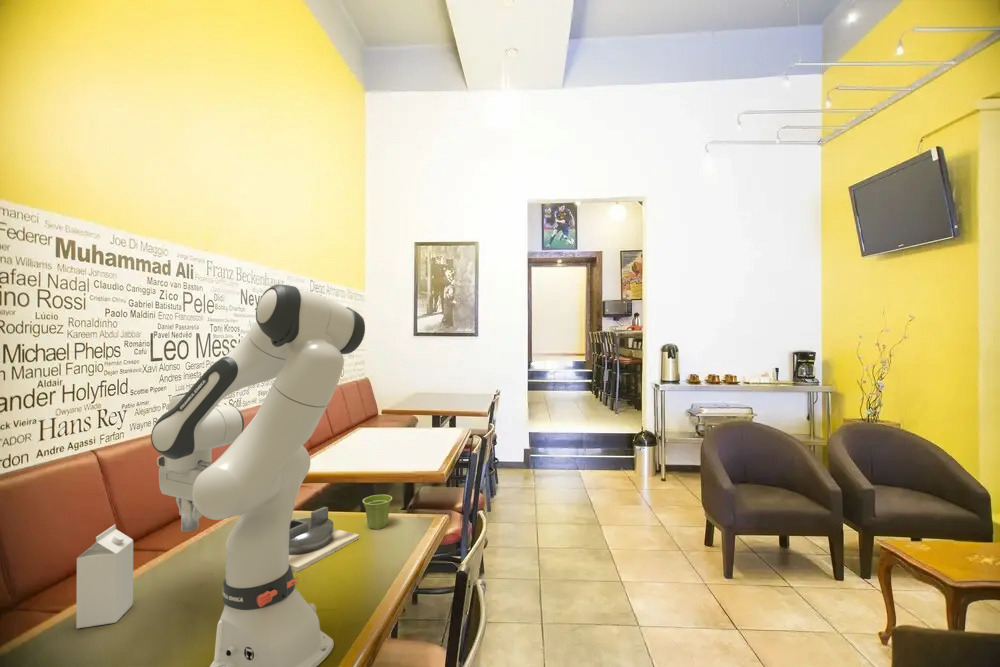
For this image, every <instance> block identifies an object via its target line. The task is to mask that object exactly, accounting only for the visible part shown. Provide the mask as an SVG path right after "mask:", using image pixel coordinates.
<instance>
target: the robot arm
mask: <svg viewBox="0 0 1000 667" xmlns="http://www.w3.org/2000/svg"><path fill="white" fill-rule="evenodd" d="M255 320H256V321H255V322H254V323H253V325H252V326H251V328H250V329H249V331H248V332H247V333H246V334H245V336H244V337H243V339H241V341H240V342H238V343H237V345H236V346H235V347H233V348H232V349H231V350H230V351H229V352H227V354H225V355H224V356H223V357H221V358H220V359H218V360H216V361H215V362H214V363H213V364H211V366H210V367H208V368H207V369H206V370H205V371H204V372H203V374H202V376H200V377H199V378H198V380H197V381H196V382H195V383H194V384H193V386H192V387H191V388H190V389H189V390H188V391H187V392H183V393H179V394H176V395H174V396H173V397H172V398H171V399H170V400H169V403H168V410H167V411H166V412H165V413H163V414H162V415H161V416H160V417H159V418H158V419H157V421H156V422H155V424H154V426H153V427H152V429H151V430H152V431H151V434H150V441H151V444H152V446H153V448H154V449H155V450H156V451H157V452H158V453H159V454H160V456H158V457H156V458H157V459H156V465H157V466H158V467H159V469H158V484H159V485H158V486H159V490H160V492H161V494H162V495H166V496H170V497H174V498H175V502H176V505H177V507H178V513H179V516H181V498H182V497H183V499H186V500H190V501H192V505H194V507H193V511H190V514H191V516H190V517H191V518H192V519H198V518H199V519H200V518H202V516H203V517H205V518H207V519H210V520H213V521H219V520H220V521H221V520H225V519H230V518H234V517H238V519H237V521H236V523H235V525H234V526H233V527H232V529H231V530H230V533H229V534H228V536H227V539H226V542H225V578H224V580H223V582H222V584H223V587H222V592H221V593H222V602H223V604H224V606H223V609H222V612H221V615H220V618H219V620H218V623H217V625H216V626H217V627H216V634H215V636H216V637H215V647H214V655H213V656H214V657H213V661H212V662H211V664H210V665H209V667H319V665H320V664H321V663H323V661H324V660H325V659H326V658H327V657H328V656H329V655H330V654H331V652H332V650H333V648H334V645H335V643H334V639H333V638H332V637H331V636H329V635H328V634H326V633H325V632H324V631H322V630H321V625H320V620H319V617H318V614H317V607H316V605H315V604H314V603H313V602H311V603H308V602H307V601H306V600H305V598H304V597H303V596H302V594H301V592H299V591H298V590H297V588H296V584H298V583H299V582H298V581H297V580H298V579H299V578H298V576H296V577H294V572H293V570H292V569H291V566H290V564H289V531H290V523H291V520H292V518H293V514H294V510H295V506H296V502H297V498H298V494H299V491H300V488H301V487H302V484H303V482H304V480H305V478H306V476H307V475H308V473H309V471H310V469H311V456H310V453H309V451H308V450H307V448H306V447H305V446H304V444H306V443H307V442H308V441H309V440H310V439H311V437H312V436H313V434H314V432H315V430H316V428H317V426H318V425H319V423H320V421H321V418H322V417H323V415H324V413H325V411H326V410H327V408H328V406H329V403H331V400H332V399H333V396H334V393H335V392H336V389H337V387H338V384H339V381H340V378H341V376H342V372H343V369H344V365H345V359H344V356H343V355H348V354H351V353H353V352H354V351H356V350H357V349H358V347H360V345H361V344H362V342H363V340H364V338H365V334H366V322H365V320H364V317H363V316H362V315H361V314H360V313H358V312H357V311H356V310H354V309H352V308H350V307H349V306H348V307H345V306H344V305H342V304H340V303H338V302H336V301H334V300H331V299H329V298H327V297H326V296H323V295H320V294H317V293H316V292H312V291H307V290H304V289H300V288H298V287H297V286H293V285H289V284H288V285H287V284H274V285H272V286H271V287H269V288H267V289H266V290H265V291H264V292H263V293H262V295H261V296H260V298H259V301H258V303H257V305H256V310H255ZM273 379H274V380H273ZM271 380H273V382H272V384H271V386H270V388H269V390H268V392H267V394H266V396H265V398H264V399H263V401H262V403H261V405H260V406H259V408H258V410H257V412H256V413H255V416H254V417H253V418H252V419H251V420H250V422H249V423H248V425H247V426H245V420H244V416H243V414H242V412H241V411H240V409H238V408H237V407H235V406H234V405H227V404H224V403H222V402H221V401H222V400H224V399H225V398H226V397H228V396H229V395H231V394H232V393H234V392H236V391H239V390H241V389H244V388H247V387H250V386H254V385H258V384H260V383H264V382H268V381H271ZM228 445H229V446H228ZM223 446H228V448H227V449H226V450H225V451H224V452H223V453H222V454H221V455H220V456H219V457H218V458H217V459H216V460H215V461H214V462H212V461H213V456H212V453H213V452H212V450H214V449H216V448H220V447H223Z"/></svg>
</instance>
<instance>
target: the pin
mask: <svg viewBox="0 0 1000 667" xmlns="http://www.w3.org/2000/svg"><path fill="white" fill-rule="evenodd" d="M193 507H194V505H192V501H190V500H186V499H183V497H182V498H181V515H180V516H181V517H180V518H181V520H180V521H181V523H180V524H181V525H180V527H181V528H180V529H181V532H183V533H186V532H193V531H195V530H197V529H198V528H199V526H200V525H199V521H200V520H199V519H200V518H198V519H192V518H191V517H190V516H191V514H190V511H193Z"/></svg>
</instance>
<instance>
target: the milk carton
mask: <svg viewBox="0 0 1000 667" xmlns="http://www.w3.org/2000/svg"><path fill="white" fill-rule="evenodd" d="M116 526H117V524H115V523H114V524H113V525H112V526H110V527H109V528H107V529H106V530H104V531H103V532H102V533H100V534H98V535H97V536H95V542H94V543H93V544H91V546H89V548H87V549H86V550H85V551H84V552H82V553H81V554H80V555H78V557H77V558H76V616H75V617H76V621H75V622H76V624H75V625H76V626H75V627H76V629H81V628H82V629H83V628H90V627H96V626H103V625H109V624H115V623H117V622H118V621H119V620H121V618H122V617H123V615H125V614H126V613H127V612H128V611H129V610H130V608H131V607H132V606H134V539H133V538H131V537H130V536H128V535H126V534H124V533H123V532H121V531H120V530H118V529H117V527H116Z"/></svg>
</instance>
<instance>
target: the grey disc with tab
mask: <svg viewBox="0 0 1000 667" xmlns="http://www.w3.org/2000/svg"><path fill="white" fill-rule="evenodd" d="M310 512H311V513H310V516H311V517H305V518H299V519H296V518H293V519H291V523H290V531H289V554H301V553H306V552H311V551H314V550H317V549H320V548H322V547H324V546H326V545H327V544H329V543H330V542H331V541H332V540H333V528H334V521H333V520H332V519H330V518H329V507H328V506H323V507H320V508H318V509H315V510H313V511H310Z"/></svg>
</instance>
